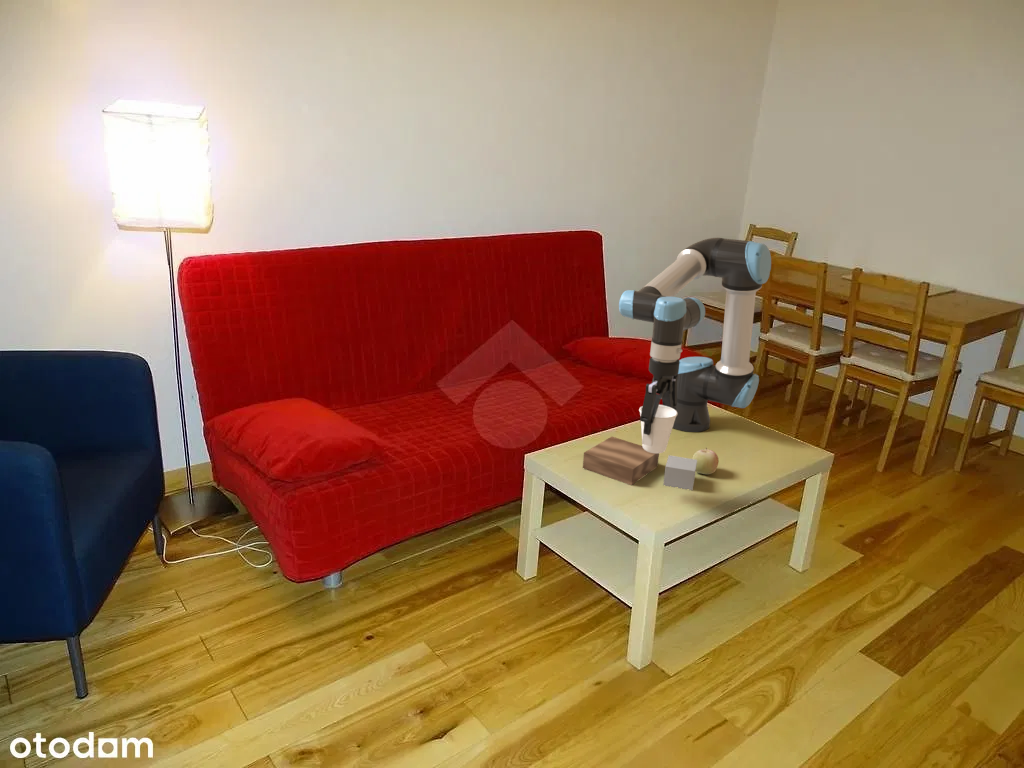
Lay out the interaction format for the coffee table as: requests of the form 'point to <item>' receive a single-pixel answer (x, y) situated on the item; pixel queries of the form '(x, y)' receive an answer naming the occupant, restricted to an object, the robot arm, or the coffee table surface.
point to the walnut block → (620, 460)
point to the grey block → (680, 472)
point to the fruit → (706, 461)
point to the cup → (661, 428)
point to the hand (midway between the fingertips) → (655, 438)
